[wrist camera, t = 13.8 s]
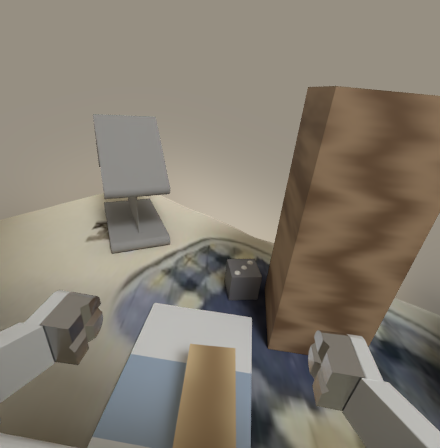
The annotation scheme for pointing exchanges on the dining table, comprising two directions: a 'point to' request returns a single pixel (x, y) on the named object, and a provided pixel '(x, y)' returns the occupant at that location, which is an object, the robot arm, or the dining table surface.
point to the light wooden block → (208, 399)
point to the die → (242, 279)
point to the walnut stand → (352, 212)
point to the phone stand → (131, 179)
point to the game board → (172, 377)
